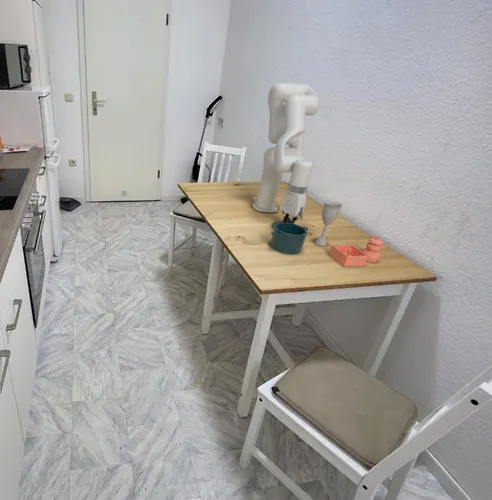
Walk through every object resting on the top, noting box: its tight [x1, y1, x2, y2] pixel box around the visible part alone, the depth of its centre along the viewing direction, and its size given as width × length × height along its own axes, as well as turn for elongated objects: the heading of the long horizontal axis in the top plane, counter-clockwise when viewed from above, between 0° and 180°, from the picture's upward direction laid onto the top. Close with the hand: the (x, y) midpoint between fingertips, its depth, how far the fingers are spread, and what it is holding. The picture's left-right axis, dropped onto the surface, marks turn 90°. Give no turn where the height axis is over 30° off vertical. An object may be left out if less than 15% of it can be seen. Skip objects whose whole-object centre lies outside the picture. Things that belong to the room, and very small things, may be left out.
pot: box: [269, 222, 309, 255], centre depth 148 cm, size 12×18×8 cm
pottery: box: [328, 235, 384, 267], centre depth 141 cm, size 18×10×10 cm, turn 99°
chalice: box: [314, 199, 343, 246], centre depth 151 cm, size 7×7×18 cm
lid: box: [271, 216, 291, 229], centre depth 165 cm, size 13×13×6 cm
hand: (287, 226), depth 166 cm, fingers closed on lid, 2 cm apart
